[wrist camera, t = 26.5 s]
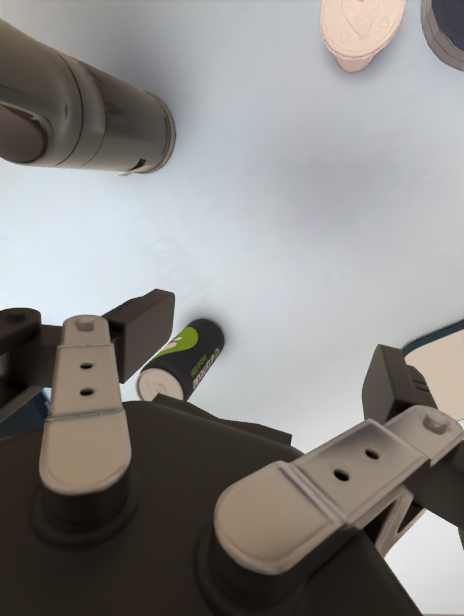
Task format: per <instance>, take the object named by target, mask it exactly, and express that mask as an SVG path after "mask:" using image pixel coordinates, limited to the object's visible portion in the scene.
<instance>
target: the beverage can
mask: <svg viewBox="0 0 464 616" xmlns="http://www.w3.org/2000/svg"><path fill="white" fill-rule="evenodd" d="M223 345H224V340H223V336H222V333H221V331H220V330H219V329H218V327H217V326H216V325H214V324H213V323H211V322H209V321H206V320H196V321H193V322H191V323H190V324H189V325H188V326H187V327H186V328H185V329H183V330H182V331H181V332H180V333H179V334H178V335H177V336H176V337H175V338H174V339H173V340H172V341H171V342H170V343H169V344H168V345H167V346H166V347H165V348H163V349H162V350H161V351H160V352H159V353H158V354H157V355H156V356H155V357H154V358H153V359H152V360H151V361H150V362H149V363H148V364H147V365H146V366H145V367H144V368H143V369H142V370H141V372H140V375H139V376H138V378H137V380H136V392H137V395H138V397H139V399H140V401H152V400H153V399H154V398H155V396H156V395H157V394H158V393H160V394H163V395H167V396H170V397H173V398H176V399H179V400H183V401H186V402H187V400H188V399H189V397H190V396H191V394H192V393H193V392H194V390H195V389H196V387H197V386H198V384H199V383H200V381H201V380H202V378H203V377H204V376H205V374H206V373H207V371H208V370H209V368H210V367H211V365H212V364H213V363H214V361H215V360H216V358H217V357H218V355H219V354H220V352H221V351H222V349H223Z"/></svg>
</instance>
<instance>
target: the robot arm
mask: <svg viewBox="0 0 464 616" xmlns="http://www.w3.org/2000/svg"><path fill="white" fill-rule="evenodd" d="M174 142H175V128H174V123H173V119H172V117H171V114H170V112H169V110H168V109H167V107H166V106H165V104H164V103H163V102H162V101H161V100H160V99H159V98H157V97H156V96H154V95H153V94H150V93H148V92H146V91H143V90H140V89H138V88H136V87H134V86H132V85H130V84H128V83H126V82H123V81H121V80H119V79H117V78H115V77H113V76H111V75H109V74H107V73H105V72H102V71H100V70H98V69H96V68H94V67H92V66H90V65H88V64H86V63H83V62H81V61H79V60H77V59H75V58H73V57H71V56H68V55H66V54H64V53H62V52H60V51H58V50H56V49H54V48H51V47H49V46H47V45H45V44H43V43H41V42H39V41H37V40H35V39H33V38H31V37H29V36H28V35H26V34H25V33H23V32H21V31H20V30H18V29H17V28H15V27H14V26H12V25H10V24H9V23H7V22H6V21H4V20H2V19H1V18H0V157H1V158H3V159H4V160H6V161H9V162H11V163H14V164H17V165H22V166H31V167H53V168H73V169H90V170H107V171H124V172H127V173H125V174H122V175H119V176H127V175H130V174H132V173H151V172H154V171H156V170H158V169H160V168H161V167H162V166H163V165H164V164H165V163H166V162H167V160H168V159H169V157H170V155H171V153H172V151H173V147H174ZM174 306H175V295H174V293H172V292H168V291H164V290H160V289H154V290H153V291H151V292H149V293H148V294H146V295H144V296H143V297H138V298H133V299H130V300H128V301H126V302H125V303H123V304H122V305H119V306H118V307H116V309H115V308H114V309H113V310H111V311H109V312H107V313H106V314H104V315H102V316H96V315H78V316H73V317H70V318H68V319H66V320H65V321H64V322H63V326H53V325H42V324H41V314H40V312H39V311H37V310H35V309H31V308H10V309H5V310H1V311H0V423H1V422H3V420H5V419H6V418H7V417H9V416H10V415H11V414H12V413H14V412H15V411H16V410H18V409H19V408H20V407H21V406H23V405H24V404H25V403H27V402H28V401H29V400H30V399H32V398H33V397H34V396H35V395H37V394H38V393H39V392H41V391H42V390H43V389H44V387H47V388H52V390H51V398H50V406H49V413H48V418H46V420H45V425H44V426H41V427H38V428H35V429H31V430H28V431H25V432H22V433H18V434H15V435H12V436H9V437H5V438H2V439H0V616H423V615H422V613H421V612H420V610H419V609H418V607H417V606H416V605H415V603H414V602H413V600H412V599H411V597H410V596H409V594H408V593H407V592H406V590H405V589H404V587H403V586H402V584H401V583H400V582H399V580H398V579H397V577H396V576H395V574H394V573H393V572H392V570H391V569H390V567H389V566H388V564H387V563H386V561H385V560H384V557H385V556H386V554H387V553H388V551H389V550H390V549H391V548H392V546H393V545H394V544H395V543H396V542H397V541H398V540H399V539H400V538H401V537H402V536H403V535H404V534H405V533H406V532H407V531H408V530H409V529H410V527H411V526H412V525H413V524H414V523H415V522H416V521H417V520H418V519H419V518H420V517H421V516H422V515H423V514H424V513H425V511H426V510H429V511H431V512H432V513H434V514H436V515H438V516H439V517H441V518H443V519H445V520H446V521H448V522H450V523H452V524H453V525H455V526H457V527H458V531H459V535H460V539H461V542H462V546H463V549H464V440H463V439H464V430H463V428H462V427H461V425H460V424H459V423H458V422H457V421H456V420H454V419H453V418H452V417H450V416H449V415H447V414H446V413H444V412H442V411H440V410H439V409H438V407H437V405H436V403H435V400H434V398H433V396H432V394H431V393H430V389H429V387H428V386H427V383H426V381H425V378H424V376H423V375H422V374H421V373H420V372H419V371H418V370H417V369H416V368H415V367H414V366H411V365H407V364H406V361H405V359H404V356H403V354H402V351H401V349H398V348H393V347H389V346H385V345H381V344H378V345H377V347H376V349H375V352H374V354H373V357H372V360H371V363H370V366H369V369H368V372H367V374H366V377H365V380H364V384H363V388H362V403H363V411H364V420H365V421H363V422H361V423H360V424H358V425H356V426H354V427H352V428H351V429H349V430H347V431H345V432H344V433H342V434H340V435H338V436H337V437H335V438H333V439H331V440H330V441H328V442H326V443H324V444H322V445H321V446H319V447H317V448H315V449H314V450H312V451H310V452H308V453H307V454H304V453H302V452H301V451H299V450H298V449H296V448H294V447H292V446H291V439H292V434H288V433H285V432H282V431H279V430H275V429H272V428H269V427H266V426H263V425H259V424H255V423H247V422H239V421H231V420H224V419H219V418H217V417H215V416H213V415H211V414H209V413H208V412H206V411H204V410H202V409H200V408H198V407H197V406H195V405H193V404H191V403H189V402H186V401H183V400H179V399H176V398H173V397H170V396H167V395H163V394H160V393H158V394H157V395H156V396H155V398H154V399H153V400H152V401H128V402H122V399H121V392H120V385H119V383H122V384H124V383H125V382H126V381H127V380H128V379H129V378H130V377H131V376H132V375H133V374H134V373H135V372H136V371H137V370H139V369H140V368H141V367H142V366H143V365H144V364H145V363H146V362H147V361H148V360H149V359H150V358H151V357H152V356H153V355H154V354H155V353H156V352H157V351H158V350H159V349H160V348H161V347H163V346H164V345H165V344H166V343H167V342H168V340H169V338H170V336H171V333H172V328H173V317H174Z"/></svg>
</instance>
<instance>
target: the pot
mask: <svg viewBox="0 0 464 616" xmlns="http://www.w3.org/2000/svg"><path fill="white" fill-rule="evenodd" d="M422 25H423V30H424V34H425V37H426V40H427V42H428V44H429V46H430V47H431V49H432V50H433V52H434V53H435V54H436V55H437V56H438V58H439V59H441V60H442V61H443V62H445V63H446V64H448V65H450V66H452V67H453V68H456V69H459V70H462V71H464V0H422Z"/></svg>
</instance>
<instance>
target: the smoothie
mask: <svg viewBox="0 0 464 616" xmlns="http://www.w3.org/2000/svg"><path fill="white" fill-rule="evenodd" d="M405 6H406V0H322V4H321V10H320V30H321V34H322V38H323V41H324V42H325V44H326V46H327V48H328V49H329V50H330V51H331V52H332V53H333V54H334V55H335V57H336V59H337V61H338V63H339V65H340V66H341V68H342V69H344V70H345V71H348V72H357V71H360V70H362V69H363V68H365V67H366V66H367V65H368V64H369V62H370V61H371V60H372V58H373V57H374V56H375V54H376V53H377V52H379V51H380V50H381V49H382V48H384V47H385V46H386V45H387V44H388V43H389V41H390V40H391V39H392V38H393V37H394V35H395V33H396V32H397V30H398V28H399V26H400V24H401V21H402V18H403V14H404V11H405Z"/></svg>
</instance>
